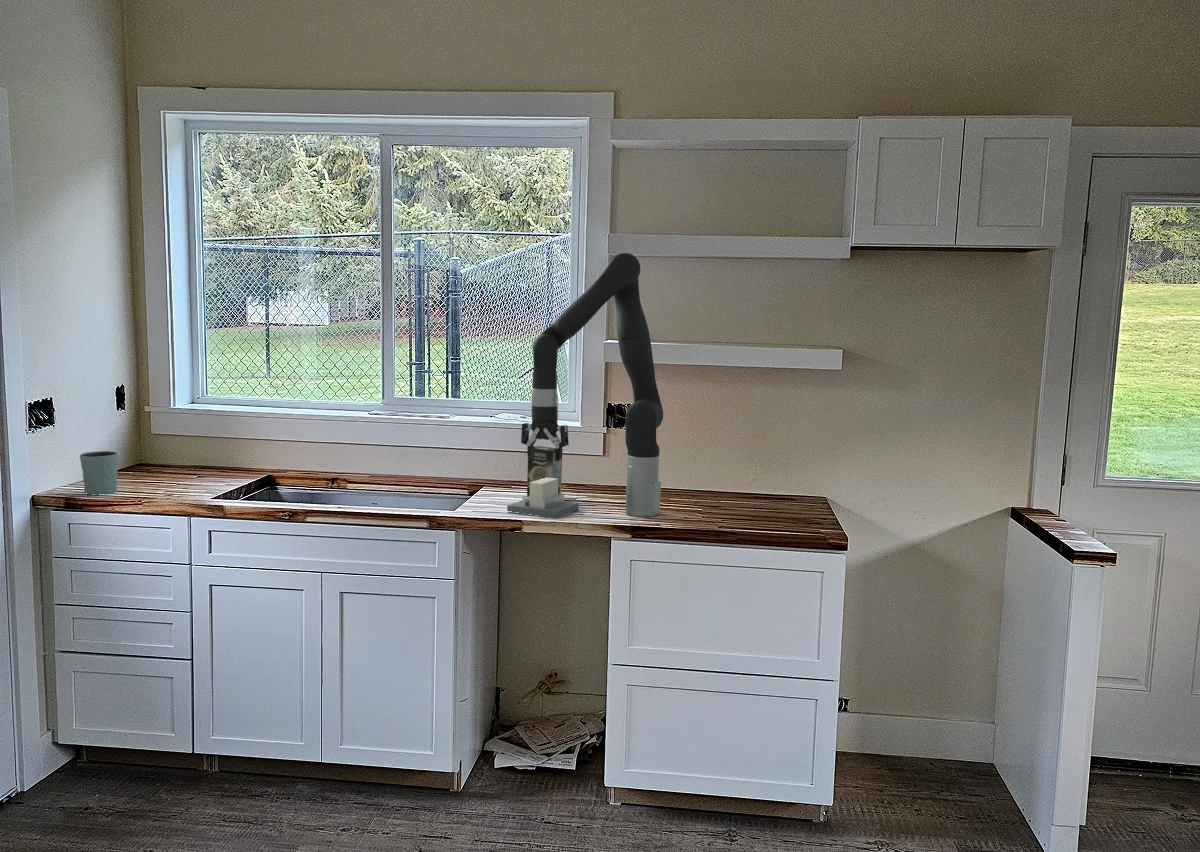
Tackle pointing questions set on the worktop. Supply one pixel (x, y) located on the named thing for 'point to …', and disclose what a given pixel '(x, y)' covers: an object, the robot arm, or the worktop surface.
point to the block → (542, 491)
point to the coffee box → (544, 467)
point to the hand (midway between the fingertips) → (544, 460)
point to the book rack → (545, 507)
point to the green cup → (99, 472)
